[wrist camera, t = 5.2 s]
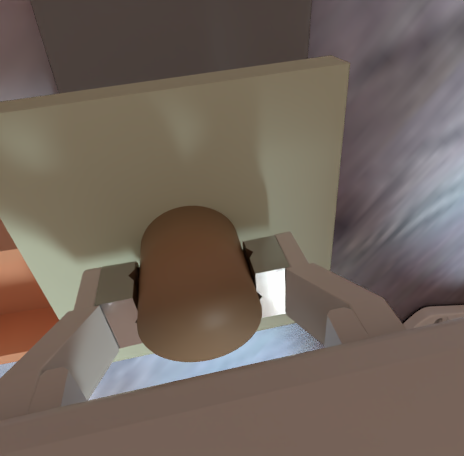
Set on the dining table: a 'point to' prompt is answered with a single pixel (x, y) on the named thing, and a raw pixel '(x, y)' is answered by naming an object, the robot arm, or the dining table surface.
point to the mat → (166, 38)
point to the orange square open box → (20, 303)
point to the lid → (176, 191)
